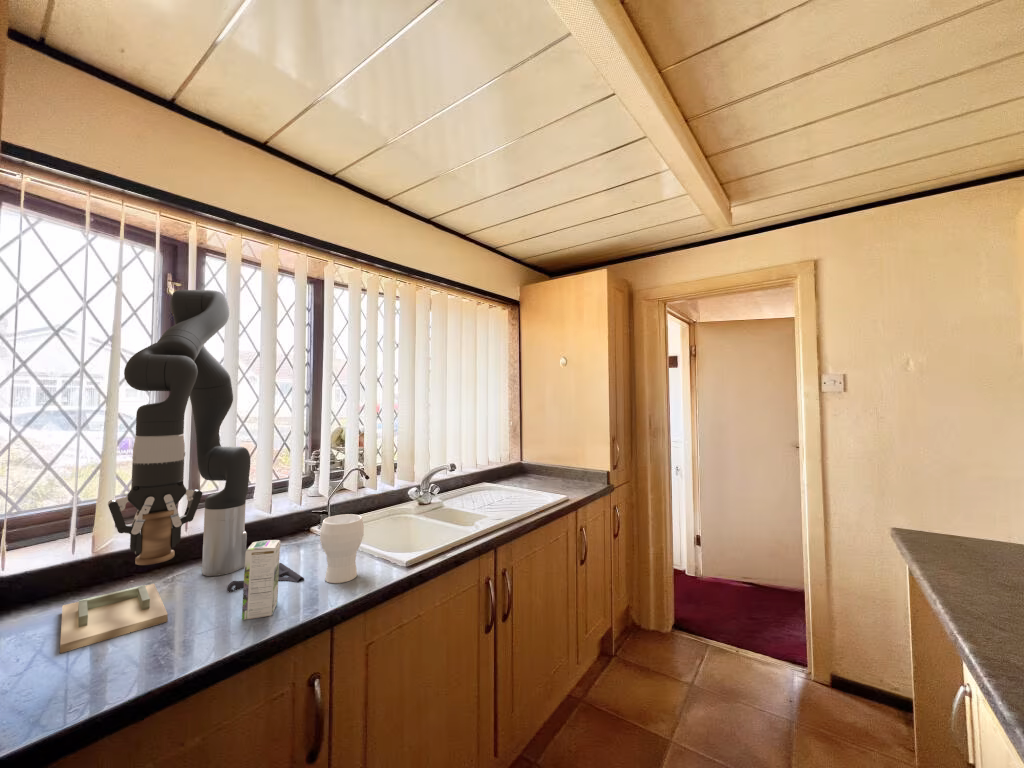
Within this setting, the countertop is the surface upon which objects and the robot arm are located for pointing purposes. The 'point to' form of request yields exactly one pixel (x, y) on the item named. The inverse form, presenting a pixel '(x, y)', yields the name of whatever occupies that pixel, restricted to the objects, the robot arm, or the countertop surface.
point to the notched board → (110, 616)
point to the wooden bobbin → (156, 538)
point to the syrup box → (261, 579)
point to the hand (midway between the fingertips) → (155, 549)
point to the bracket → (282, 572)
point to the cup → (341, 546)
